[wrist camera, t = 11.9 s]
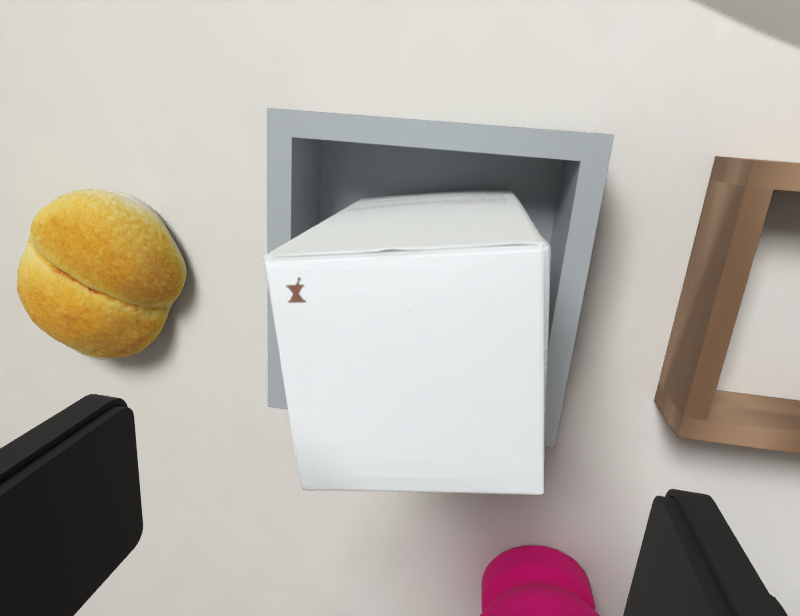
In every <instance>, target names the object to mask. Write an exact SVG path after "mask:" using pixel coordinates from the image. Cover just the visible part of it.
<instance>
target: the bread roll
mask: <svg viewBox="0 0 800 616" xmlns="http://www.w3.org/2000/svg"><path fill="white" fill-rule="evenodd" d="M17 272H18V281H17V291H18V294H19V297H20V300H21V302H22V304H23V306H24V308H25V310H26V311H27V313H28V315H29V316H30V318H31V319H32V321H33V322H34V323H35V324H36V325H37V326H38V327H39V328H40V329H42V330H43V331H44V332H46V333H47V334H48V335H50V336H51V337H52V338H54V339H55V340H57V341H59V342H61V343H63V344H65V345H66V346H68V347H70V348H72V349H74V350H76V351H78V352H79V353H81V354H83V355H85V356H89V357H92V358H96V359H106V358H119V357H127V356H131V355H134V354H136V353H138V352H140V351H142V350H143V349H145V348H146V347H147V346H148V345H149V344H151V343H152V342H153V341H154V340H155V339H156V338H157V336H158V335H159V334H160V332H161V331H162V329H163V326H164V324H165V321H166V319H167V316H168V313H169V311H170V309H171V307H172V305H173V303H174V301H175V300H176V299H177V298H178V297H179V295H180V293H181V292H182V289H183V286H184V284H185V281H186V275H187V270H186V265H185V262H184V259H183V257H182V255H181V253H180V251H179V249H178V247H177V245H176V243H175V241H174V240H173V238H172V236H171V234H170V232H169V231H168V230H167V228H166V226H165V224H164V222H163V221H162V220H161V218H160V217H159V215H158V214H157V213H156V212H155V211H154V210H153V209H152V208H151V207H150V206H148V205H147V204H145V203H144V202H142V201H141V200H139V199H137V198H135V197H133V196H130V195H128V194H125V193H122V192H115V191H109V190H108V191H106V190H79V191H74V192H71V193H68V194H65V195H62V196H60V197H58V198H57V199H55V200H54V201H52V202H51V203H49V204H48V205H46V206H45V207H44V208H42V209H41V210H40V211H39V212H38V213H37V215H36V216H35V218H34V220H33V222H32V225H31V229H30V237H29V241H28V244H27V247H26V250H25V251H24V254H23V257H22V259H21V261H20V264H19V267H18V270H17Z"/></svg>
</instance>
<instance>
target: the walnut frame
mask: <svg viewBox="0 0 800 616" xmlns="http://www.w3.org/2000/svg"><path fill="white" fill-rule="evenodd" d="M773 190H786V191H798V192H800V163H793V162H781V161H768V160H756V159H743V158H731V157H718V156H715V160H714V164H713V168H712V172H711V176H710V180H709V184H708V188H707V192H706V196H705V200H704V204H703V208H702V212H701V216H700V220H699V224H698V228H697V232H696V236H695V240H694V244H693V248H692V252H691V256H690V260H689V264H688V268H687V272H686V276H685V280H684V284H683V288H682V292H681V296H680V300H679V304H678V308H677V312H676V316H675V320H674V324H673V328H672V332H671V336H670V340H669V344H668V348H667V352H666V356H665V360H664V364H663V368H662V372H661V376H660V380H659V384H658V388H657V392H656V396H655V400H654V401H655V403H656V404H657V406H658V407H659V409H660V410H661V412H662V414H663V415H664V417H665V418H666V420H667V421H668V423H669V425H670V426H671V428H672V429H673V431H674V432H675V434H676V435H677V437H680V438H687V439H695V440H702V441H709V442H717V443H724V444H731V445H739V446H746V447H753V448H761V449H768V450H775V451H783V452H790V453H797V454H800V401H798V400H790V399H782V398H774V397H766V396H758V395H750V394H742V393H735V392H727V391H719V390H716V387H717V384H718V380H719V377H720V373H721V370H722V366H723V363H724V359H725V356H726V353H727V349H728V346H729V342H730V339H731V335H732V332H733V328H734V325H735V321H736V318H737V315H738V311H739V308H740V304H741V301H742V297H743V294H744V290H745V287H746V283H747V280H748V276H749V273H750V270H751V266H752V263H753V259H754V256H755V252H756V249H757V245H758V242H759V238H760V235H761V231H762V228H763V225H764V221H765V218H766V214H767V211H768V207H769V204H770V200H771V197H772V193H773Z"/></svg>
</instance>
